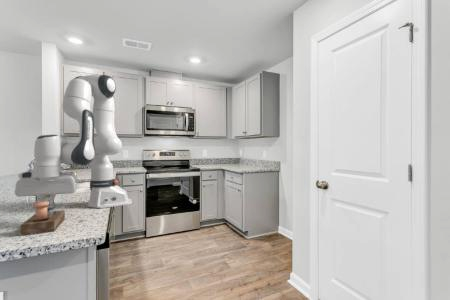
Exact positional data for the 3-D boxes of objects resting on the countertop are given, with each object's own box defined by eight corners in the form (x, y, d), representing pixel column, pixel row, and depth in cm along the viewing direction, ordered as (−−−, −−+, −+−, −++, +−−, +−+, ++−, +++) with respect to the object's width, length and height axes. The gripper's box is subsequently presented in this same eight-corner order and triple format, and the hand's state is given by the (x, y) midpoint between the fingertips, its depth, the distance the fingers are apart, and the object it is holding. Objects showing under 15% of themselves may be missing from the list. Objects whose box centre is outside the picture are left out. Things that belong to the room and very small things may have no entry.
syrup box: (45, 205, 122) (45, 179, 122) (54, 205, 121) (54, 179, 120) (35, 208, 116) (34, 180, 116) (44, 208, 115) (43, 181, 115)
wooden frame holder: (64, 219, 98) (64, 210, 98) (54, 231, 84) (54, 221, 84) (36, 222, 94) (36, 212, 94) (20, 235, 80) (20, 224, 80)
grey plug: (56, 217, 96) (56, 203, 96) (53, 220, 91) (53, 205, 91) (43, 218, 94) (43, 204, 94) (39, 222, 89) (38, 207, 89)
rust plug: (51, 215, 88) (50, 200, 88) (47, 219, 84) (47, 203, 84) (36, 217, 86) (36, 201, 86) (31, 221, 82) (31, 204, 82)
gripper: (78, 171, 99) (78, 201, 99) (20, 172, 91) (19, 205, 91) (75, 172, 94) (75, 204, 94) (13, 174, 85) (12, 209, 85)
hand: (47, 205), depth 92 cm, fingers closed, pressing on grey plug
